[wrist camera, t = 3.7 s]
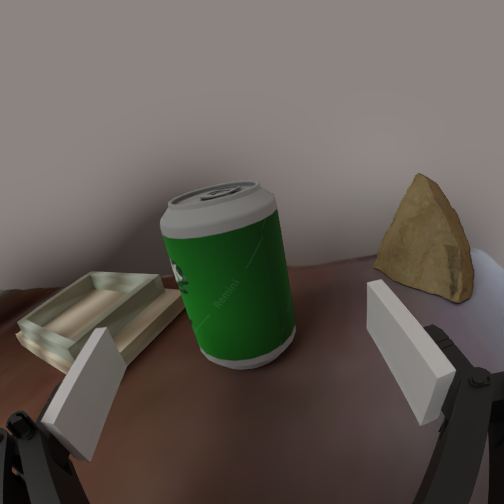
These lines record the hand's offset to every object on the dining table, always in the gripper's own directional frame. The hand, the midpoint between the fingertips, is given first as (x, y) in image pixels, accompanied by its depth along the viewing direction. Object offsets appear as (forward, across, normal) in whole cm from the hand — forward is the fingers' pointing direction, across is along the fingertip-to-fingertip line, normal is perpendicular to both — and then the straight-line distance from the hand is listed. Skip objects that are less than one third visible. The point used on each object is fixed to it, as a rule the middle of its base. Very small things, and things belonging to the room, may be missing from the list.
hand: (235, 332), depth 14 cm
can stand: (+13, -18, -6) cm, 23 cm away
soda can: (+7, 0, -7) cm, 10 cm away
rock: (+10, +16, -7) cm, 21 cm away
